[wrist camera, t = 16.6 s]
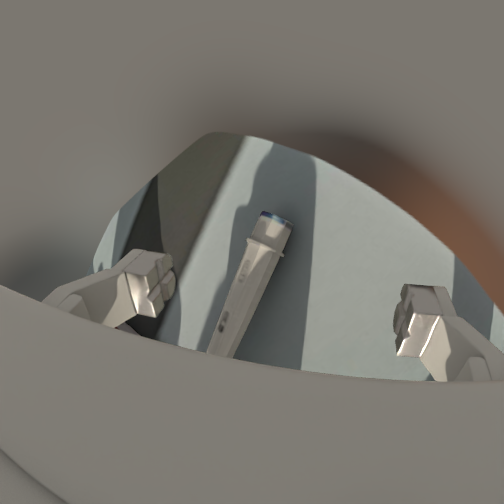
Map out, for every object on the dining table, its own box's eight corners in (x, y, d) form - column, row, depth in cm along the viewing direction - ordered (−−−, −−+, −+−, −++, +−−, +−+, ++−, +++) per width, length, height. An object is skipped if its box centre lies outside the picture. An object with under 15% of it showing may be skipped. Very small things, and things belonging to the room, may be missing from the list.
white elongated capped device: (286, 218, 31) (194, 422, 31) (313, 236, 36) (230, 413, 36) (249, 205, 34) (168, 396, 34) (278, 224, 39) (204, 391, 39)
